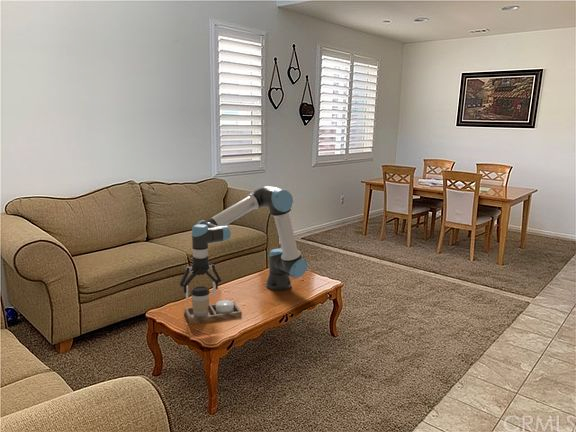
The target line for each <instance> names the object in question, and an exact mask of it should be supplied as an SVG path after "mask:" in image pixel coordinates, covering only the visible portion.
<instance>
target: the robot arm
mask: <svg viewBox="0 0 576 432" xmlns="http://www.w3.org/2000/svg"><path fill="white" fill-rule="evenodd" d="M293 203H294V197H293V195H292V194H291V192H290V191H289V190H287V189H284V188H282V187H276V186H272V185H265V186H261V187H259V188H257V189H255V190H253V191H252V192H249V193H248V194H247V196H246V197H245V198H243V199H241V200H240V201H238V202H236V203H234V204H232V205H231V206H229V207H227V208H226V209H224V210H222V211H220V212H219V213H217V214H215V215H213V216H212V217H210V218H208V219H207V220H205V219H203V220H199V221H198V222H197V223H196V224H194V225H192V227H191V228H192V229H191V242H192V243H191V244H192V245H191V247H192V265H191V266H187V265H186V266H185V271H184V273H183V276H181V277H182V278H181V279H180V281H179V286H180V287H182V288H183V293H184V294H185V299H186V301H187V300H188V301H189V287H188V285H189V284H190V283H191V282H192V280H193V279H194V278H195V277H197V276H200V275H201V276H202V275H203V276H204V275H207V276H208V277H209V278H210V279H211V280H212V281H213V282H212V295H213V296H214V297H216V296H217V294H216V293H217V292H216V290H218V289H219V286H218V284H219V283H221V282H222V279H221V277H220V275H219V273H218V272H217V270H216V266H215V264H214V263H211V264H209V244H214V243H219V242H225V241H226V242H227V241H229V239H230V238H231V229H230V227H229V226H228V225H229V224H232V222H234V221H236V220H237V219H240V218H241V217H243V216H245V215H247V214H248V213H249V212H251V211H253V210H258V209H260V208H262V207H265V208H268V210H269V213H270V216H272V217H273V218H274V223H275V226H276V230H277V235H278V240H279V243H280V247H281V248H273V249H271V250H270V251H269V256H268V257H269V260H268V261H269V262H268V263H269V267H268V268H269V269H268V272H269V273H268V276H267V279H266V282H265V287H266V288H267V289H269V290H274V291H285V290H288V289H290V288H291V287H292V282H291V281H292V280H291V278H294V279H299V278H301V277H303V276H304V275H305V274H306V272H307V270H308V262H307V260H306V259H304V258H303V256H302V252H301V251H300V250H299V249H298V246H297V241H296V238H295V233H294V229H293V225H292V220H291V216H290V212H291V211H292V207H293ZM209 269H210V270H212V272H213V274H214V276H215V277H216V278H215V277H214V276H213V275H212V274H211V273H210V272H209ZM191 271H192V272H191ZM190 272H191V274H190ZM189 274H190V275H189ZM188 275H189V276H188ZM187 277H188V278H187Z"/></svg>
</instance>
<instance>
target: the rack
mask: <svg viewBox="0 0 576 432" xmlns="http://www.w3.org/2000/svg"><path fill="white" fill-rule="evenodd" d="M232 302H233V303H234V312H230V313H223V314H216V303H212V304H209V308H208V316H202V317H195V318H194V313H193V307H192V306H189V307H184V314H185V316H186V319H187V322H188V323H189V325H196V324H201V323H208V322H214V321H221V320H229V319H235V318H241V317H242V316H243V315H242V313H243V312H242V311H241V309H240V307H239V306H238V305H237V304H236V302H235V301H232Z"/></svg>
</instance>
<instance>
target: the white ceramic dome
mask: <svg viewBox="0 0 576 432" xmlns="http://www.w3.org/2000/svg"><path fill="white" fill-rule="evenodd" d="M215 304H216V314H223V313H230V312H234V303H233V301H232V300H227V299H226V300H224V299H223V300H219V301H217V302H216V303H215Z"/></svg>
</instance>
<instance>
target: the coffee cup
mask: <svg viewBox="0 0 576 432" xmlns="http://www.w3.org/2000/svg"><path fill="white" fill-rule="evenodd" d="M210 293H211V292H210V288H208V287H206V286H196V287H194V288H193V289H192V290H191V291H190V294H191V304H192V306H191V307H193V313H194V318H195V317H202V316H208V308H209V305H210Z"/></svg>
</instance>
